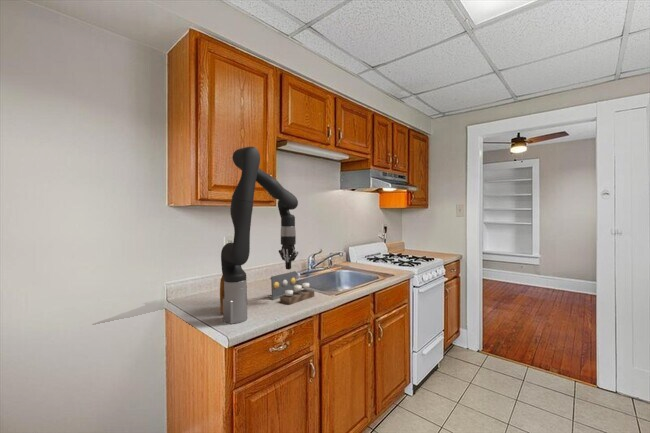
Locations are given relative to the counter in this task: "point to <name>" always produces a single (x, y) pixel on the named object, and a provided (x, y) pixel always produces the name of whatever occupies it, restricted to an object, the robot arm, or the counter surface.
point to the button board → (297, 296)
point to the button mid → (297, 287)
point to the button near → (289, 292)
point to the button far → (305, 285)
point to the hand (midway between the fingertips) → (288, 269)
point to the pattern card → (282, 284)
